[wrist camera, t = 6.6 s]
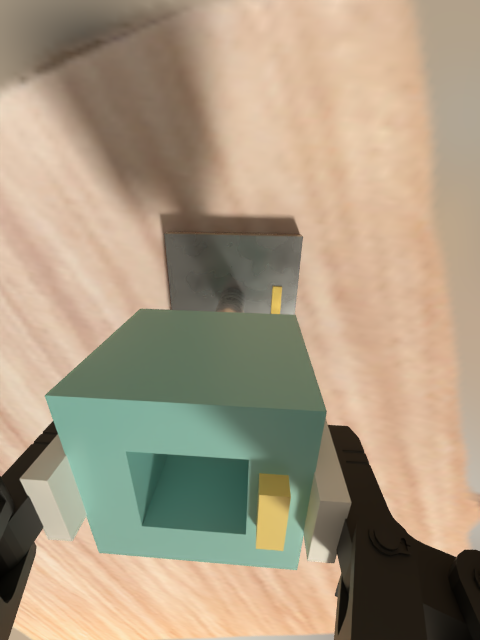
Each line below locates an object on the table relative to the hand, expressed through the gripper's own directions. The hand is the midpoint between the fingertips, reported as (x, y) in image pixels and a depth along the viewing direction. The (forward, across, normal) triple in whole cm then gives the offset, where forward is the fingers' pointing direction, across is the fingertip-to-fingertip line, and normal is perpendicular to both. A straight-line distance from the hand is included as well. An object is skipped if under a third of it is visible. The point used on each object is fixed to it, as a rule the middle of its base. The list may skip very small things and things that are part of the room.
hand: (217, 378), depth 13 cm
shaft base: (+13, 0, 0) cm, 13 cm away
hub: (0, 0, 0) cm, 0 cm away
